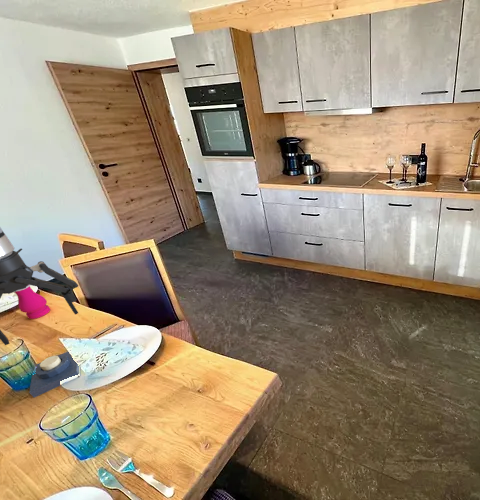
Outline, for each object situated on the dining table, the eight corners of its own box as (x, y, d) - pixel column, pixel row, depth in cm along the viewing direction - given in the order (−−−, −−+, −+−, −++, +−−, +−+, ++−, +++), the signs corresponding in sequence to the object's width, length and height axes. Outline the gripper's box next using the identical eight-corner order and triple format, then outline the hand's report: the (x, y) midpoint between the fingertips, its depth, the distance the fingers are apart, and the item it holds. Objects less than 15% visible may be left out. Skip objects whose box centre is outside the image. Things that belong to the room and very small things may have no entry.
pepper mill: (21, 318, 109) (-13, 274, 99) (43, 306, 115) (13, 263, 105) (35, 321, 107) (2, 276, 98) (56, 308, 113) (27, 265, 104)
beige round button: (43, 364, 84) (40, 360, 83) (61, 357, 86) (58, 353, 86) (42, 373, 81) (39, 369, 81) (61, 365, 84) (57, 361, 83)
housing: (37, 370, 87) (30, 361, 85) (80, 352, 92) (74, 343, 91) (33, 397, 79) (25, 388, 77) (80, 376, 84) (73, 367, 82)
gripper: (-99, 289, 56) (-27, 364, 66) (66, 240, 73) (104, 306, 83) (-98, 276, 60) (-30, 350, 70) (59, 233, 77) (95, 296, 87)
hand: (43, 326), depth 76 cm, fingers open, 13 cm apart
